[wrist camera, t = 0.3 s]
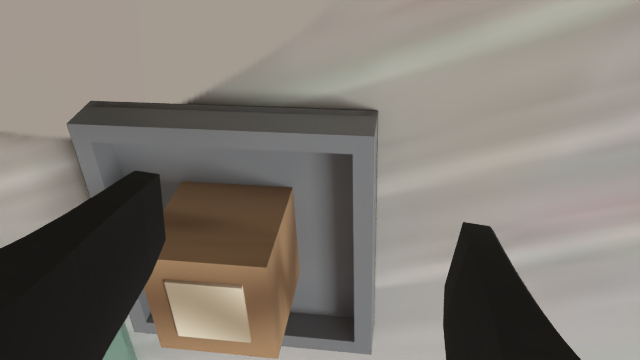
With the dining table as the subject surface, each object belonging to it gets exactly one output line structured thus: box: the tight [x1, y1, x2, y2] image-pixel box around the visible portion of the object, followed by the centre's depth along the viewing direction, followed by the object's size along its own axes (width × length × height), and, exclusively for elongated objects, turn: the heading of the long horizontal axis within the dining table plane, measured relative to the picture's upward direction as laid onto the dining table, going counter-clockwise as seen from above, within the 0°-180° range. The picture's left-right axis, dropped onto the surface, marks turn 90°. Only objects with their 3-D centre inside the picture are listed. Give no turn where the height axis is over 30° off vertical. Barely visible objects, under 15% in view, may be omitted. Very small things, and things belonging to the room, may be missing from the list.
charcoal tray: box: [67, 101, 378, 355], centre depth 26 cm, size 12×12×2 cm
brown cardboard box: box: [144, 181, 300, 359], centre depth 24 cm, size 5×5×5 cm
